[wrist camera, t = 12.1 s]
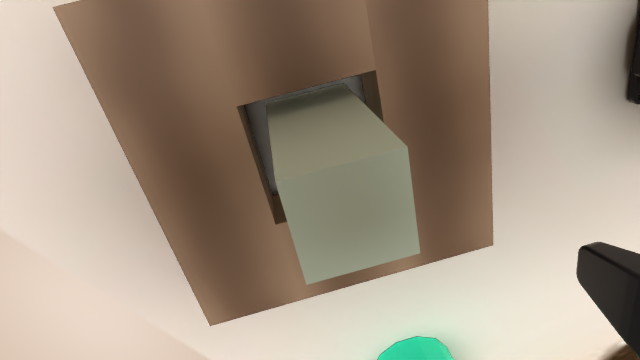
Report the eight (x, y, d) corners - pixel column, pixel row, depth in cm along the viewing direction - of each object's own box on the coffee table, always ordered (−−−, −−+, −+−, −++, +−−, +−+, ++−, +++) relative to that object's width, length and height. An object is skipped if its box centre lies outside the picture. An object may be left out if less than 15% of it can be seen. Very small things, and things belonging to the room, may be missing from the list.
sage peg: (343, 83, 20) (407, 146, 11) (357, 155, 21) (420, 253, 13) (265, 102, 19) (275, 181, 11) (285, 173, 21) (306, 285, 13)
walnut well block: (449, -86, 17) (485, -100, 14) (466, 217, 24) (493, 245, 22) (85, 5, 16) (52, 7, 14) (214, 288, 24) (210, 325, 21)
